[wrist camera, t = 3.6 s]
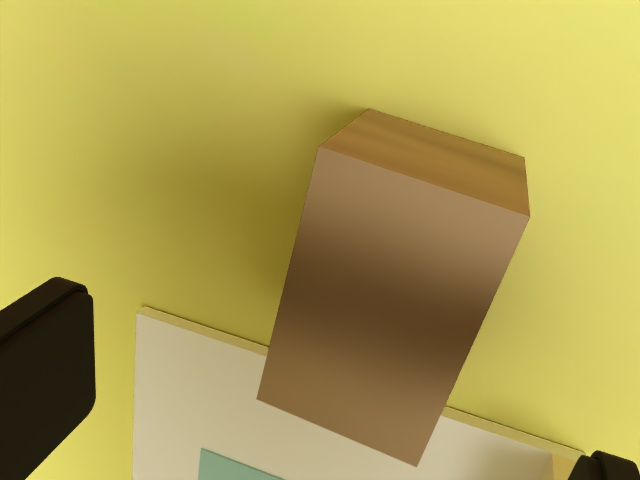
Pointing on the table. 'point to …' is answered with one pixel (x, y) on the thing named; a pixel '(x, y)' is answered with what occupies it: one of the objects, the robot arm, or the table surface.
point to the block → (391, 279)
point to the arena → (288, 423)
